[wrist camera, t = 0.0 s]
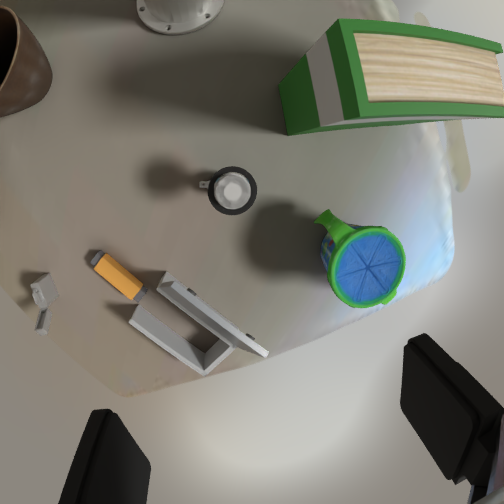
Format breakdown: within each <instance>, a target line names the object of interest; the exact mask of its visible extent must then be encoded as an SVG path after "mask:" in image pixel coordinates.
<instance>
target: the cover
mask: <svg viewBox="0 0 504 504" xmlns="http://www.w3.org/2000/svg"><path fill="white" fill-rule="evenodd" d="M159 288H160V289H162V290H163V291H164V292H165V293H167V294H168V295H169V296H171V297H172V298H173V299H174V300H176V301H177V302H178V303H179V304H181V305H182V306H183V307H185V308H186V309H187V310H188V311H190V312H191V313H192V314H194V315H195V316H196V317H198V318H199V319H200V320H202V321H203V322H204V323H206V324H207V325H208V326H210V327H211V328H212V329H214V330H215V331H216V332H218V333H219V334H220V335H222V336H223V337H225V338H226V339H227V340H229V341H230V342H231V343H233V344H234V345H236V346H237V347H238V348H240V349H243V350H246V351H248V352H251V353H254V354H256V355H259V356H262V357H264V358H266V356H267V355H268V353H269V352H268V351H266V350H265V349H264V348H262V347H261V346H260V345H258V344H257V343H255V342H254V339H255V338H254V337H252V336H251V335H249V334H246V335H245V334H243V333H242V332H241V331H239V330H238V329H237V328H235V327H234V326H233V325H231V324H230V323H229V322H227V321H226V320H225V319H223V318H222V317H221V316H219V315H218V314H217V313H215V312H214V311H213V310H212V309H210V308H209V307H208V306H206V305H205V304H204V303H203V302H201V301H200V300H199V299H198V298H196V297H195V296H196V295H197V294H196V293H195V292H194V291H193V290H191V289H189V288H188V289H187V290H186V289H185V288H184V287H182V286H181V285H180V284H179V283H177V282H176V281H169V282H163V283H162V284H161V285H160V287H159Z"/></svg>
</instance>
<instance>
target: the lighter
mask: <svg viewBox="0 0 504 504" xmlns="http://www.w3.org/2000/svg"><path fill="white" fill-rule="evenodd" d="M30 286H31V288H32V291H33V294H32V296H33V299H34V301H35V303H36V305H37V304H38V305H39V308H40V311H39V315H38V319H37V322H36V327H35V331H36V332H37V333H38V334H39V335H47V334H48V330H49V326H50V321H51V317H52V312H51V311H50V310H49V309H48V308H47V307H48V306H49V305H50V304H51V303H52V302H53V301H54V300H55V299H56V298H57V297H58V296H59V294H58V292H57V289H56V287H55V284H54V281H53V279H52V276H51V274H50V273H47V274H43V275H42V276H41V277H39V278H38V279H37V280H36V281H34V282H33V283H32V284H31V285H30Z"/></svg>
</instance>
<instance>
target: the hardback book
mask: <svg viewBox="0 0 504 504" xmlns="http://www.w3.org/2000/svg"><path fill="white" fill-rule="evenodd" d="M499 53H503V50H502V46H501V44H500V43H497V42H493V41H490V40H486V39H482V38H479V37H474V36H471V35H466V34H462V33H458V32H452V31H448V30H443V29H438V28H432V27H426V26H420V25H412V24H405V23H397V22H387V21H376V20H361V19H338V20H337V21H336V22H335V23H334V24H333V25H332V26H331V27H330V28H329V29H328V30H327V31H326V32H325V33H324V34H323V35H322V36H321V37H320V39H319V40H318V41H317V42H316V43H315V44H314V45H313V46H312V47H311V48H310V49H309V51H308V52H307V53H306V54H305V55H304V56H303V57H302V58H301V59H300V61H299V62H298V63H297V64H296V65H295V66H294V67H293V69H292V70H291V71H290V72H289V73H288V74H287V75H286V77H285V78H284V79H283V80H282V81H281V82H280V84H279V85H278V87H279V92H280V97H281V102H282V107H283V113H284V118H285V124H286V129H287V135H288V136H291V135H299V134H306V133H314V132H323V131H332V130H342V129H352V128H364V127H377V126H392V125H404V124H413V123H423V122H434V121H447V120H462V119H479V118H504V91H503V86H502V82H501V76H500V72H499V67H498V63H497V59H496V55H495V54H499Z"/></svg>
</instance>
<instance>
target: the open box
mask: <svg viewBox="0 0 504 504" xmlns="http://www.w3.org/2000/svg"><path fill="white" fill-rule="evenodd" d="M169 281H176V282H177V283H179V284H180V285H181V286H182V287H184V288H185V289H186V290H187V289H188V288H187V287H186V286H184V285H183V284H182V283H181V282H179V281H178V280H177V279H176V278H175V277H173V276H172V275H171V274H170V273H168V272H167V271H166V273H165V274H164V275H163V276H162V277H161V280H160V282H159V284H158V287H157V289H156V290H157V291H158V292H160V293H161V294H162V295H163V296H165V297H166V298H167V299H168V300H170V301H171V302H172V303H173V304H175V305H176V306H177V307H179V308H180V309H181V310H183V311H184V312H185V313H186V314H188V315H189V316H190V317H192V318H193V319H194V320H196V321H197V322H198V323H200V324H201V325H202V326H204V327H205V328H206V329H208V330H209V331H210V332H212V333H213V334H214V335H216V336H217V337H219V338H220V339H219V340H218V341H217V342H216V343H215V344H214V345H213V346H212V347H211V348H210V349H209V350H208V351H207V352H206V353H204V352H202V351H201V350H199V349H198V348H196V347H195V346H194V345H192V344H191V343H189V342H188V341H187V340H185V339H184V338H182V337H181V336H180V335H178V334H177V333H176V332H174V331H173V330H172V329H170V328H169V327H168V326H166V325H165V324H164V323H162V322H161V321H160V320H158V319H157V318H156V317H154V316H153V315H152V314H151V313H149V312H148V311H147V310H145V309H144V308H143V307H142V306H140V305H139V304H138V306H137V307H136V308H135V310H134V312H133V314H132V316H131V318H130V320H129V323H130V324H131V325H132V326H134V327H135V328H136V329H138V330H139V331H140V332H142V333H143V334H144V335H146V336H147V337H148V338H150V339H151V340H152V341H154V342H155V343H157V344H158V345H159V346H161V347H162V348H163V349H165V350H166V351H168V352H169V353H171V354H172V355H173V356H175V357H176V358H178V359H179V360H181V361H182V362H183V363H185V364H186V365H188V366H189V367H191V368H192V369H194V370H195V371H197V372H198V373H200V374H201V375H203V376H206V375H207V374H208V373H209V372H211V371H212V370H213V369H214V368H215V367H216V366H217V365H218V364H219V363H220V362H221V361H222V360H224V359H225V358H226V357H227V356H228V355H229V354H230V353H231V352H232V351H233V350H234V349H235V348H236V347H237V346H236V345H234V344H233V343H231V342H230V341H229V340H227V339H226V338H225V337H223V336H222V335H220V334H219V333H218V332H216V331H215V330H214V329H212V328H211V327H210V326H208V325H207V324H206V323H204V322H203V321H202V320H200V319H199V318H198V317H196V316H195V315H194V314H192V313H191V312H190V311H188V310H187V309H186V308H185V307H183V306H182V305H181V304H179V303H178V302H177V301H176V300H174V299H173V298H172V297H171V296H169V295H168V294H167V293H165V292H164V291H163V290H162V289H160V288H159V287H160V285H161V284H162V283H163V282H169ZM195 297H196V298H198V299H199V300H200V301H201V302H203V303H204V304H205V305H206V306H208V307H209V308H210V309H212V310H213V311H214V312H215V313H217V314H218V315H219V316H221V317H222V318H223V319H225V320H226V321H227V322H229V323H230V324H231V325H233V326H234V327H235V328H237V329H238V327H237V326H236V325H234V324H233V323H232V322H231V321H229V320H228V319H227V318H225V317H224V316H223V315H221V314H220V313H219V312H217V311H216V310H215V309H214V308H212V307H211V306H210V305H208V304H207V303H206V302H205V301H203V300H202V299H201V298H200V297H198V296H197V295H196V296H195ZM238 330H239V329H238Z"/></svg>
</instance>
